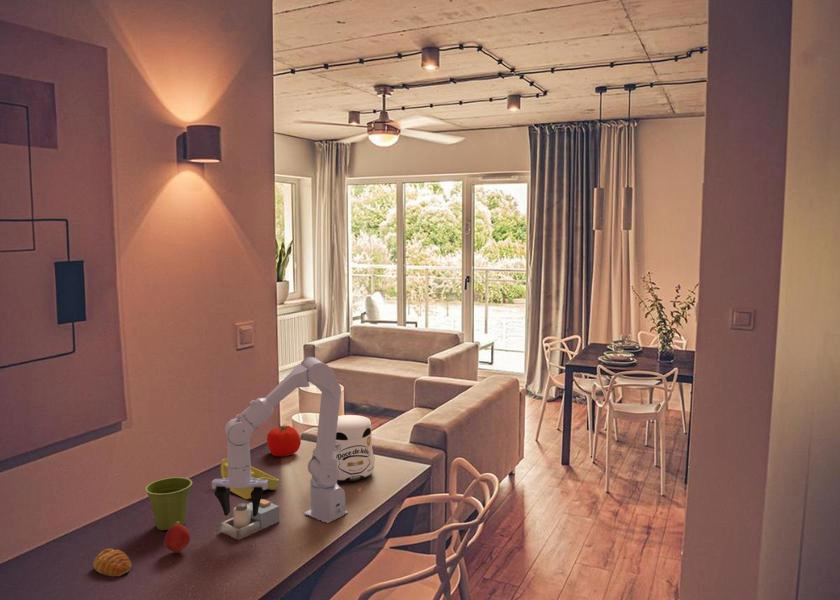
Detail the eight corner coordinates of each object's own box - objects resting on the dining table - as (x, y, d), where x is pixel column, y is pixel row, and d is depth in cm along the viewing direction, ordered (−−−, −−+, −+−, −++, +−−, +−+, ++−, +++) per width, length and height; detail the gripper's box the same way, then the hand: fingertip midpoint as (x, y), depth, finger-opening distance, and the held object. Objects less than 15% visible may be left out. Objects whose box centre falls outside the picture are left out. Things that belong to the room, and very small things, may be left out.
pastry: (139, 569, 149) (139, 553, 148) (112, 582, 143) (111, 566, 143) (116, 558, 154) (115, 543, 154) (89, 570, 148) (88, 555, 148)
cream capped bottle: (253, 526, 170) (252, 502, 169) (247, 534, 165) (246, 509, 165) (237, 525, 170) (236, 501, 169) (231, 533, 166) (230, 508, 165)
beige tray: (262, 529, 168) (262, 520, 168) (238, 540, 162) (238, 531, 162) (244, 521, 173) (244, 512, 172) (220, 531, 167) (220, 522, 166)
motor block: (279, 521, 172) (278, 503, 172) (261, 530, 167) (260, 511, 167) (260, 513, 177) (260, 495, 176) (242, 521, 172) (242, 503, 172)
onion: (164, 560, 152) (162, 528, 152) (166, 548, 158) (165, 518, 157) (189, 556, 154) (188, 525, 153) (191, 545, 160) (190, 515, 159)
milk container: (354, 490, 193) (353, 433, 191) (310, 479, 201) (308, 424, 199) (385, 471, 208) (384, 418, 206) (342, 462, 216) (341, 411, 214)
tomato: (275, 447, 231) (275, 420, 230) (306, 451, 227) (306, 423, 226) (258, 458, 221) (257, 429, 220) (290, 462, 217) (290, 433, 216)
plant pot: (203, 518, 175) (201, 478, 174) (175, 538, 163) (173, 496, 162) (166, 513, 178) (164, 474, 177) (137, 532, 167) (134, 491, 165)
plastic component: (282, 481, 195) (258, 476, 187) (273, 504, 193) (249, 501, 185) (242, 462, 207) (219, 457, 199) (234, 484, 205) (210, 480, 197)
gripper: (271, 459, 169) (272, 508, 170) (218, 458, 170) (220, 507, 171) (262, 469, 162) (264, 520, 163) (207, 468, 163) (210, 518, 164)
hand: (241, 514), depth 167 cm, fingers open, 7 cm apart
